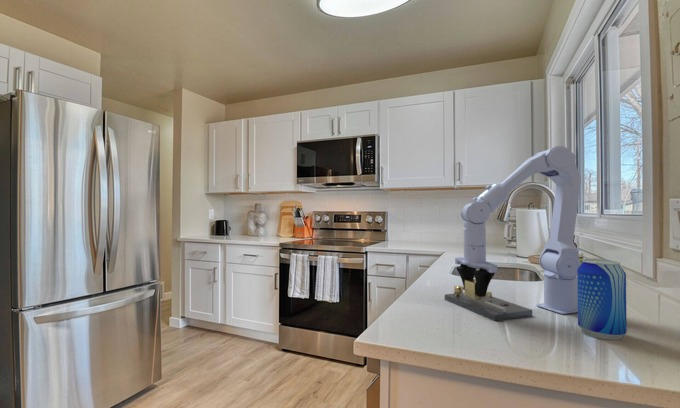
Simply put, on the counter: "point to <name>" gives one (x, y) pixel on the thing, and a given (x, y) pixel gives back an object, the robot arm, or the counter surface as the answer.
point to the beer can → (602, 299)
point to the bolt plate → (488, 306)
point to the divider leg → (473, 290)
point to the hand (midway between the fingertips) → (474, 293)
